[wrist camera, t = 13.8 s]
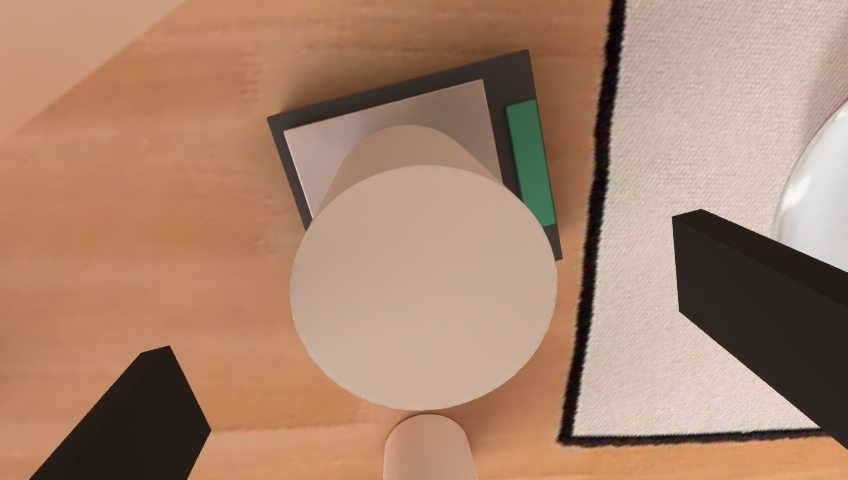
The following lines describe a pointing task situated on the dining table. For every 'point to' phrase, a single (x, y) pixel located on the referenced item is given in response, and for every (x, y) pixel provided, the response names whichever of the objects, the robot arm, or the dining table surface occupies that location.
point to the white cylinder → (421, 275)
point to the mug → (428, 451)
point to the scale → (509, 119)
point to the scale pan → (440, 109)
